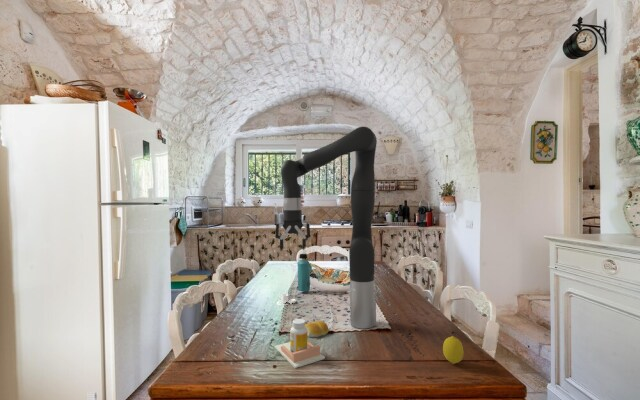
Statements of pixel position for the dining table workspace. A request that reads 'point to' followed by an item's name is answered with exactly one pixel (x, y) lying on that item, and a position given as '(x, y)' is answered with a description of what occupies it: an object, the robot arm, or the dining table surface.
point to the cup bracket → (300, 354)
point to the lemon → (453, 350)
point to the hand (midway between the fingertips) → (293, 248)
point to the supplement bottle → (298, 336)
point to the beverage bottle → (303, 274)
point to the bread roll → (316, 329)
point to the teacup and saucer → (286, 299)
